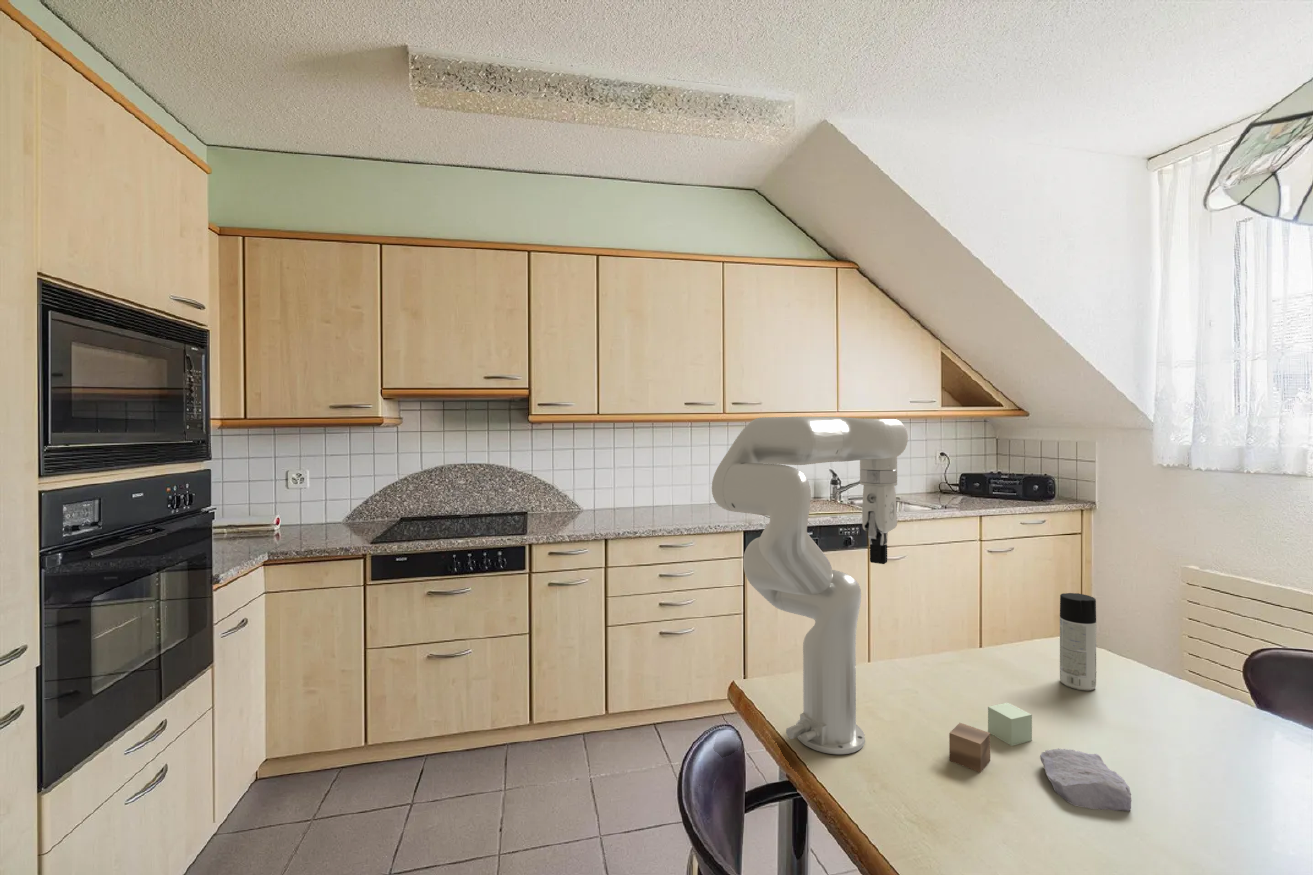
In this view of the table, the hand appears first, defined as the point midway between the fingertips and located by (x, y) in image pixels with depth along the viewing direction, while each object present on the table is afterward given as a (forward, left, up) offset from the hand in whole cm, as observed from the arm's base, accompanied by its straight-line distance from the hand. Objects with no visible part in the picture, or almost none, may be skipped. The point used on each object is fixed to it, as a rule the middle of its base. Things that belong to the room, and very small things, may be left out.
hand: (878, 562), depth 125 cm
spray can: (+41, -22, -29) cm, 55 cm away
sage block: (+6, -24, -29) cm, 38 cm away
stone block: (-1, -38, -30) cm, 48 cm away
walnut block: (-8, -24, -29) cm, 39 cm away
